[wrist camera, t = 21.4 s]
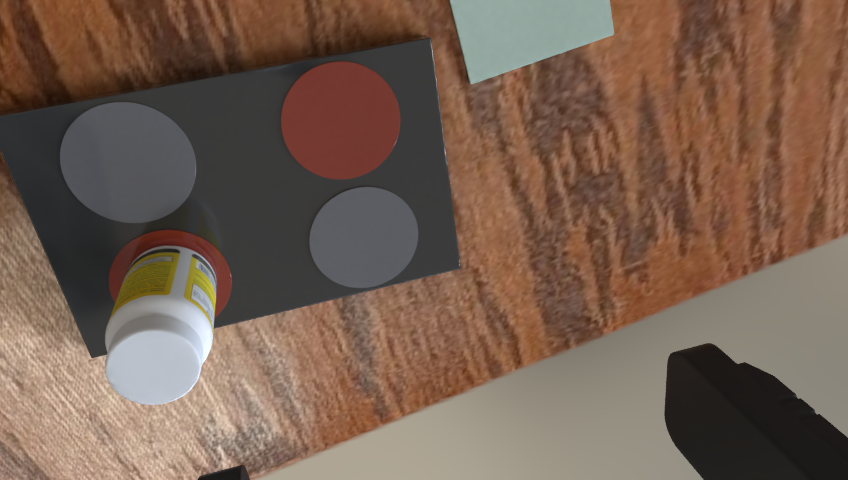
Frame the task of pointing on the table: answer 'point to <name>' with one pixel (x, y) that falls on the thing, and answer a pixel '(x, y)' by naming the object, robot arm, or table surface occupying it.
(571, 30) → the cloth
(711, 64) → the table surface
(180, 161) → the hob
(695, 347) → the robot arm
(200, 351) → the supplement bottle
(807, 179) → the table surface
